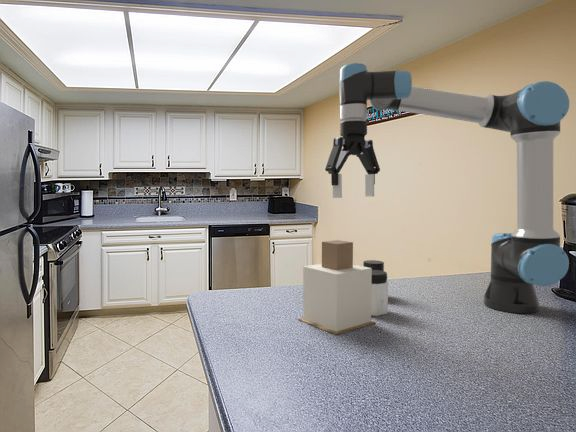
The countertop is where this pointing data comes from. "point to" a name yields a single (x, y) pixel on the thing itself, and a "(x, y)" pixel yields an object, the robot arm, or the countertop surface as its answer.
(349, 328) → the plate
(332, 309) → the cover
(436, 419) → the countertop surface
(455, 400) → the countertop surface
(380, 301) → the jar
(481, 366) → the countertop surface
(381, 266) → the ink bottle
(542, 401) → the countertop surface
